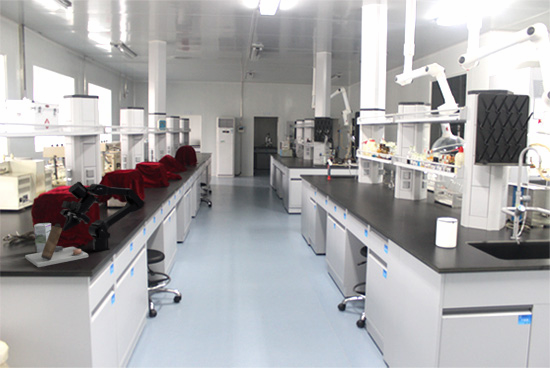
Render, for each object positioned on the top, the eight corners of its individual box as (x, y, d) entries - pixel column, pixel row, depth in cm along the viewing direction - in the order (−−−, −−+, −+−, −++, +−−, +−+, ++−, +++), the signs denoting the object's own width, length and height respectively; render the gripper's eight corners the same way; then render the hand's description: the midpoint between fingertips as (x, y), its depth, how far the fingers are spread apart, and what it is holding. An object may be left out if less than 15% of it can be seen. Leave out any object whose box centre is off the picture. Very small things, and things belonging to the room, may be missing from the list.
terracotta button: (79, 252, 201) (79, 248, 200) (82, 253, 198) (82, 249, 198) (71, 253, 198) (71, 249, 198) (74, 255, 196) (74, 251, 195)
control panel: (73, 249, 213) (73, 245, 213) (88, 257, 199) (88, 252, 199) (25, 258, 198) (25, 254, 197) (37, 267, 184) (37, 262, 183)
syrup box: (53, 250, 212) (51, 222, 210) (47, 253, 206) (45, 225, 204) (41, 250, 212) (39, 222, 210) (35, 253, 206) (33, 225, 204)
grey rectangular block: (59, 249, 207) (59, 246, 207) (62, 250, 205) (63, 247, 205) (50, 249, 203) (50, 246, 203) (53, 250, 201) (53, 247, 201)
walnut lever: (45, 258, 193) (57, 223, 197) (51, 260, 189) (64, 225, 193) (39, 257, 191) (52, 222, 195) (46, 259, 187) (59, 223, 191)
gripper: (63, 193, 204) (41, 218, 196) (82, 196, 193) (60, 223, 185) (79, 206, 211) (59, 231, 203) (99, 210, 200) (78, 236, 192)
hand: (63, 230), depth 196 cm, fingers closed
